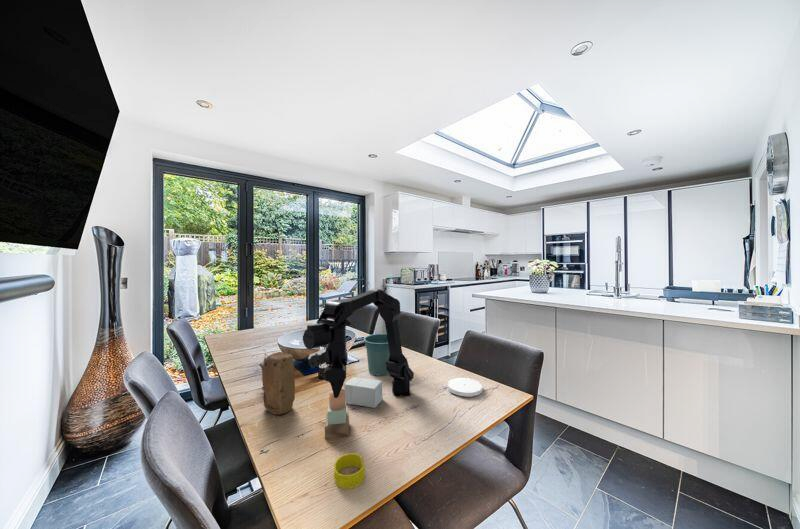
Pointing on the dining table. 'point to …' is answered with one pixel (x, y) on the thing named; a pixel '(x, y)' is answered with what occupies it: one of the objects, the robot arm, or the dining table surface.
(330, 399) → the brown oval piece
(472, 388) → the plastic lid
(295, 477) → the dining table surface
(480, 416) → the dining table surface
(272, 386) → the block
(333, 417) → the top block
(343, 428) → the bottom block
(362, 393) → the supplement box
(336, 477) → the bracelet
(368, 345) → the flower pot
